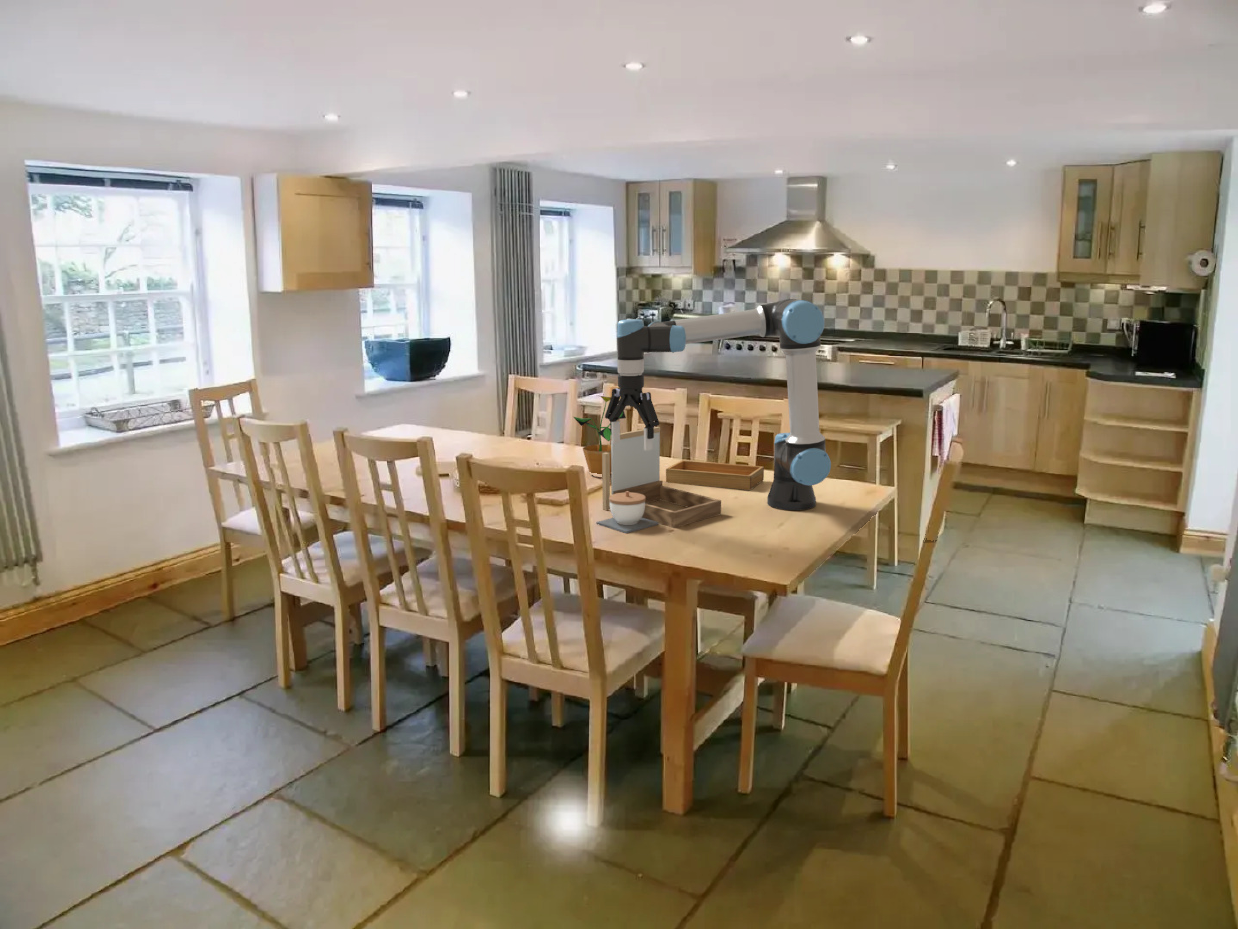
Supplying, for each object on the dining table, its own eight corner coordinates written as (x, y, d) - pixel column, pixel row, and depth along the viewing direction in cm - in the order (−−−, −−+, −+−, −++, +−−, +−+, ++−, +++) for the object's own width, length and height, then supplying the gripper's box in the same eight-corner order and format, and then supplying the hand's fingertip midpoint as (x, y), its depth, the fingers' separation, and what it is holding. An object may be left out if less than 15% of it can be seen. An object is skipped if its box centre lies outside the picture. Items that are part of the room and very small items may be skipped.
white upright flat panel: (660, 498, 302) (660, 427, 297) (609, 511, 288) (608, 436, 282) (653, 496, 304) (653, 426, 299) (602, 509, 290) (601, 435, 284)
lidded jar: (604, 519, 277) (604, 488, 275) (637, 515, 281) (637, 485, 278) (616, 529, 267) (616, 497, 265) (651, 525, 271) (651, 494, 269)
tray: (665, 483, 324) (665, 467, 323) (682, 474, 337) (682, 458, 336) (750, 492, 311) (750, 476, 310) (763, 482, 324) (764, 466, 323)
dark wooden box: (720, 514, 283) (721, 495, 282) (674, 527, 270) (674, 508, 269) (659, 498, 302) (659, 480, 301) (613, 510, 289) (613, 491, 288)
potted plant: (632, 479, 328) (631, 394, 322) (580, 482, 324) (578, 397, 317) (620, 467, 345) (619, 387, 339) (570, 471, 341) (569, 390, 334)
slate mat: (658, 524, 274) (658, 522, 273) (626, 533, 265) (626, 531, 265) (628, 515, 283) (628, 513, 283) (596, 524, 274) (596, 522, 274)
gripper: (671, 376, 260) (671, 450, 264) (610, 369, 277) (612, 438, 282) (652, 379, 255) (653, 454, 259) (592, 371, 272) (593, 442, 277)
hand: (631, 446), depth 271 cm, fingers open, 13 cm apart
